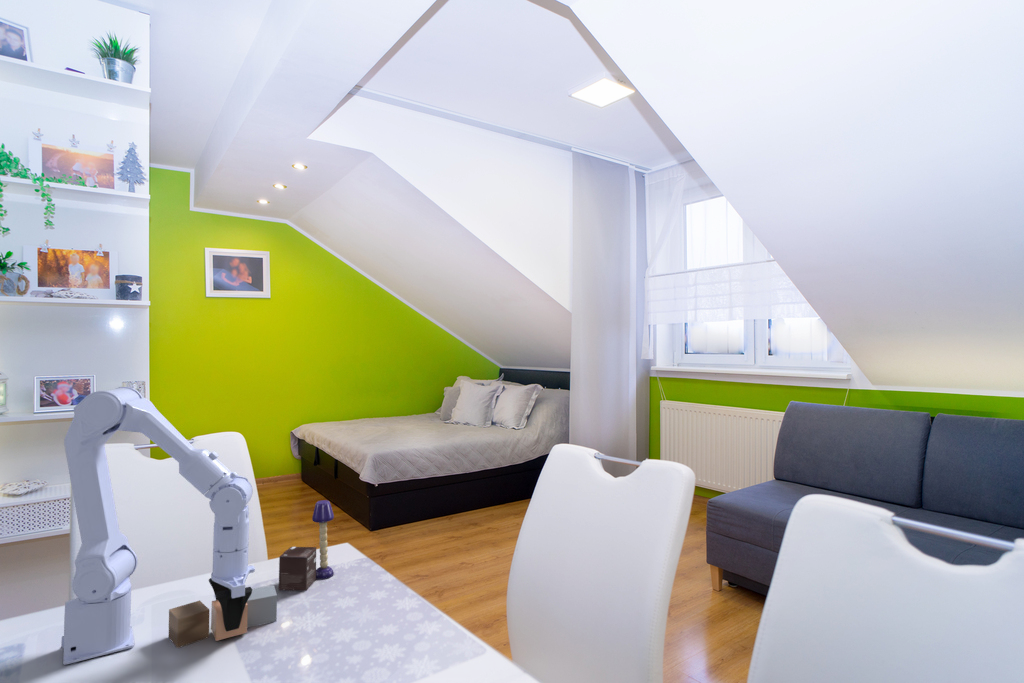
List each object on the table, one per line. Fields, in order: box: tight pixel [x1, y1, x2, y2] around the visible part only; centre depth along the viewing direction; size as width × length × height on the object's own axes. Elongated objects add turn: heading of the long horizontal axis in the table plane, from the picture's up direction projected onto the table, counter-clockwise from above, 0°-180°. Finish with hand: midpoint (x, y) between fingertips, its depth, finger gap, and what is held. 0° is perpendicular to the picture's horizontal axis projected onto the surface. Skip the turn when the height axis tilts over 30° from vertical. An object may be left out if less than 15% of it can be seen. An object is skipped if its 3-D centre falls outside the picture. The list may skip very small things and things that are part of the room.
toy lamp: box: [311, 499, 335, 580], centre depth 127 cm, size 5×5×17 cm
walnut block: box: [168, 600, 210, 649], centre depth 100 cm, size 5×5×5 cm
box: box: [278, 546, 317, 592], centre depth 122 cm, size 6×6×7 cm
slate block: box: [247, 584, 278, 628], centre depth 107 cm, size 5×5×5 cm
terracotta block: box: [210, 599, 248, 641], centre depth 101 cm, size 5×5×5 cm
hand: (229, 622), depth 101 cm, fingers closed on terracotta block, 5 cm apart
